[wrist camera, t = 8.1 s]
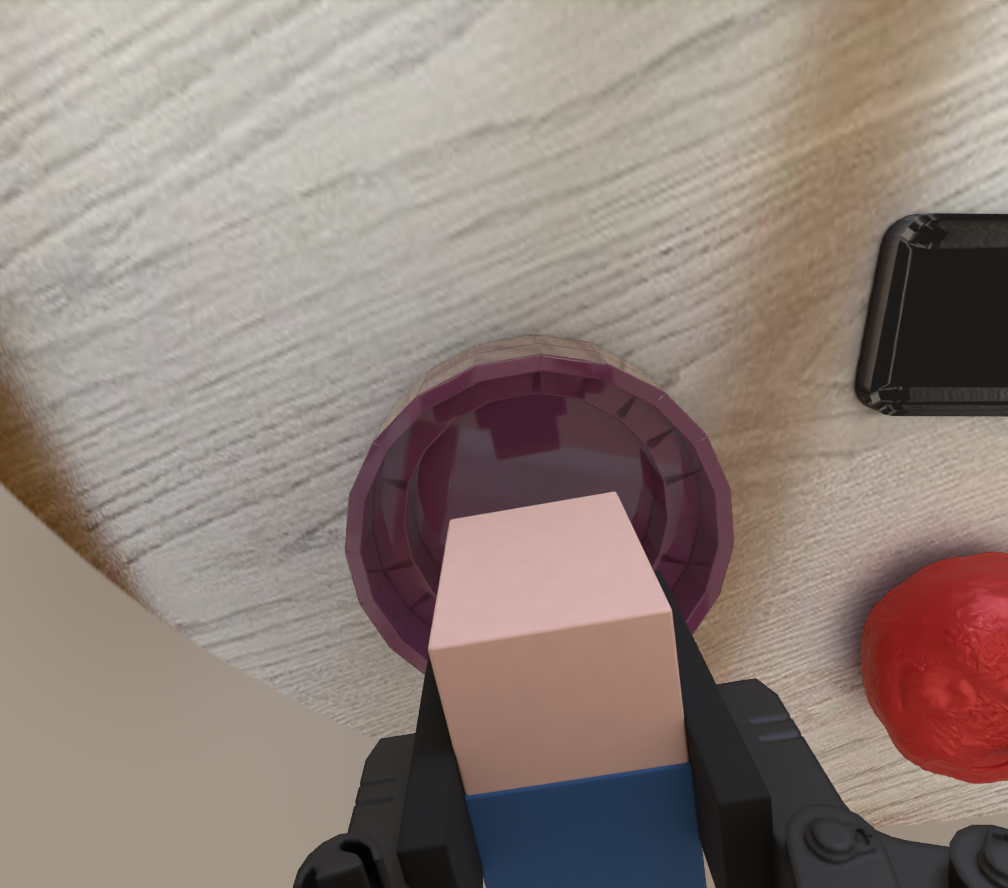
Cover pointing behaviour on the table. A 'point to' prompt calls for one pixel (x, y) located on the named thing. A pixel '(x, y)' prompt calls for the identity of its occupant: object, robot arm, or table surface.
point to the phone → (939, 319)
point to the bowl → (531, 473)
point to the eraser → (565, 700)
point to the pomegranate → (944, 667)
